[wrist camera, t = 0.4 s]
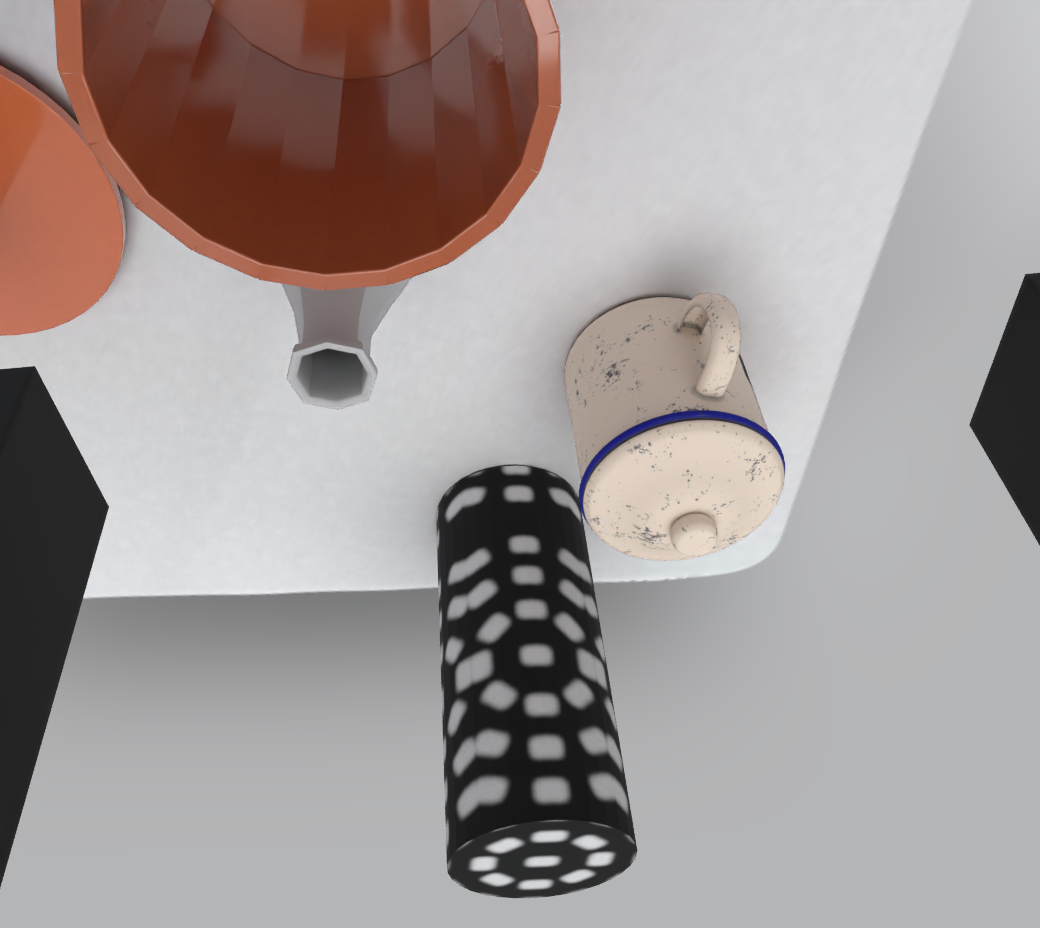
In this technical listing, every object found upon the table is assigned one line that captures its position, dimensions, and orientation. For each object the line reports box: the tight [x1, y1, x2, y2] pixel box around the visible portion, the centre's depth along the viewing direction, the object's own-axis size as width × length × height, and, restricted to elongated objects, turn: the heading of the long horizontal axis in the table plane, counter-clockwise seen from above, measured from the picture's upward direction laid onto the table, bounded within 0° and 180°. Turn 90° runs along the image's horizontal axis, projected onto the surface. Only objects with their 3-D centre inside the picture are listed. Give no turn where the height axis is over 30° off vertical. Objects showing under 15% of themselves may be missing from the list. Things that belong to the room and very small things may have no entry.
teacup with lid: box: [565, 293, 785, 561], centre depth 44 cm, size 12×9×12 cm
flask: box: [282, 277, 412, 410], centre depth 39 cm, size 7×7×10 cm
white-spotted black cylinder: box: [436, 466, 637, 898], centre depth 50 cm, size 8×8×20 cm
